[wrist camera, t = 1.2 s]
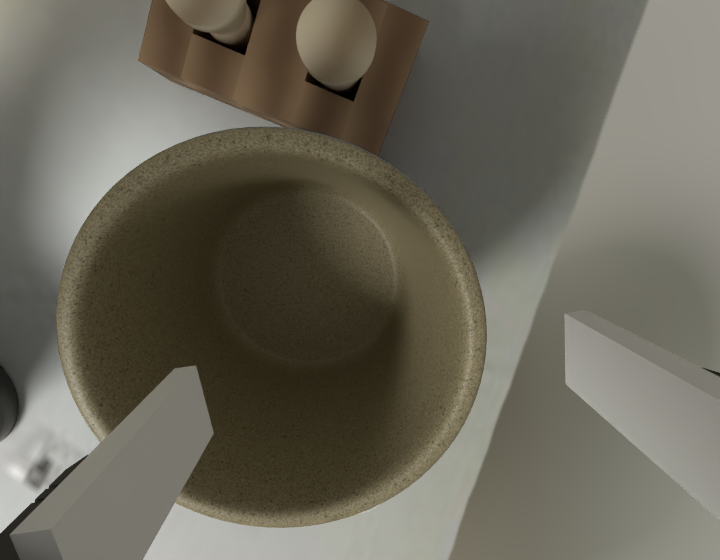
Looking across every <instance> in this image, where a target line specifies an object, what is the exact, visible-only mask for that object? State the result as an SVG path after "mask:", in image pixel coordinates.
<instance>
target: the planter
mask: <svg viewBox="0 0 720 560" xmlns="http://www.w3.org/2000/svg"><path fill="white" fill-rule="evenodd" d="M56 323H57V339H58V347H59V354H60V358H61V363H62V367H63V371H64V374H65V377H66V380H67V384H68V386H69V389H70V391H71V394H72V396H73V398H74V400H75V403H76V405H77V407H78V409H79V411H80V413H81V414H82V416H83V418H84V419H85V421H86V423H87V424H88V426H89V427H90V429H91V430H92V432H93V433H94V435H95V436H96V437H97V439H98V440H99V441H100V442H102V441H103V440H104V439H105V438H106V437H107V436H108V435H109V434H110V433H111V432H112V431H113V430H114V429H115V428H116V427H117V426H118V425H119V424H120V423H121V422H122V421H123V420H124V419H125V418H126V417H127V416H128V415H129V414H130V413H131V412H132V411H133V410H134V409H135V408H136V407H137V406H138V405H139V404H140V403H141V402H142V401H143V400H144V399H145V398H146V397H147V396H148V395H149V394H150V393H151V392H152V391H153V390H154V389H155V388H156V387H157V386H158V385H159V384H160V383H161V382H162V381H163V380H164V379H165V378H166V377H167V376H168V375H169V374H170V373H171V372H172V371H173V370H174V369H175V368H181V367H189V366H196V367H197V371H198V375H199V379H200V382H201V386H202V390H203V394H204V398H205V402H206V405H207V409H208V413H209V417H210V421H211V425H212V428H213V432H214V434H213V436H212V437H211V439H210V441H209V443H208V444H207V446H206V448H205V450H204V452H203V453H202V455H201V457H200V459H199V460H198V462H197V464H196V466H195V467H194V469H193V471H192V473H191V475H190V476H189V478H188V480H187V482H186V483H185V485H184V487H183V489H182V491H181V492H180V494H179V496H178V498H177V499H176V501H175V503H177V504H179V505H181V506H183V507H185V508H188V509H190V510H192V511H195V512H197V513H200V514H203V515H206V516H209V517H212V518H216V519H219V520H223V521H227V522H232V523H237V524H242V525H249V526H258V527H277V528H285V527H302V526H311V525H317V524H323V523H328V522H332V521H336V520H340V519H343V518H347V517H350V516H353V515H356V514H358V513H361V512H363V511H366V510H369V509H371V508H373V507H375V506H377V505H379V504H381V503H383V502H385V501H387V500H388V499H390V498H392V497H394V496H395V495H397V494H398V493H400V492H401V491H403V490H404V489H406V488H407V487H409V486H410V485H411V484H412V483H414V482H415V481H416V480H418V479H419V478H420V477H421V476H422V475H423V474H424V473H426V472H427V471H428V470H429V469H430V468H431V467H432V466H433V465H434V464H435V463H436V462H437V461H438V460H439V458H440V457H441V456H442V455H443V454H444V452H445V451H446V450H447V449H448V448H449V446H450V445H451V443H452V442H453V441H454V439H455V438H456V436H457V435H458V433H459V431H460V430H461V428H462V426H463V425H464V423H465V421H466V419H467V417H468V415H469V413H470V411H471V408H472V406H473V403H474V401H475V398H476V396H477V392H478V389H479V386H480V383H481V378H482V374H483V369H484V363H485V356H486V342H487V330H486V315H485V306H484V301H483V296H482V291H481V287H480V284H479V280H478V277H477V274H476V271H475V268H474V266H473V263H472V260H471V258H470V256H469V254H468V252H467V250H466V247H465V245H464V243H463V242H462V240H461V238H460V236H459V235H458V233H457V231H456V230H455V228H454V227H453V225H452V224H451V222H450V221H449V219H448V218H447V217H446V215H445V214H444V213H443V212H442V210H441V209H440V208H439V207H438V206H437V204H436V203H435V202H434V201H433V200H432V199H431V198H430V197H429V196H428V195H427V194H426V193H425V192H424V191H423V190H422V189H421V188H420V187H419V186H418V185H417V184H416V183H415V182H413V181H412V180H411V179H410V178H409V177H408V176H406V175H405V174H403V173H402V172H401V171H399V170H398V169H397V168H395V167H394V166H392V165H391V164H389V163H388V162H386V161H384V160H383V159H381V158H379V157H378V156H376V155H374V154H372V153H370V152H368V151H366V150H364V149H362V148H360V147H358V146H355V145H353V144H350V143H348V142H345V141H343V140H340V139H336V138H333V137H330V136H327V135H323V134H319V133H315V132H310V131H305V130H299V129H292V128H281V127H246V128H237V129H229V130H224V131H218V132H213V133H209V134H206V135H202V136H199V137H195V138H192V139H190V140H187V141H184V142H182V143H179V144H176V145H174V146H172V147H170V148H168V149H166V150H164V151H162V152H160V153H158V154H156V155H154V156H153V157H151V158H149V159H148V160H146V161H144V162H143V163H141V164H140V165H139V166H137V167H136V168H134V169H133V170H132V171H130V172H129V173H128V174H127V175H125V176H124V177H123V178H122V179H121V180H120V181H118V182H117V183H116V184H115V185H114V186H113V187H112V188H111V189H110V190H109V191H108V192H107V193H106V194H105V195H104V196H103V198H102V199H101V200H100V201H99V203H98V204H97V205H96V206H95V208H94V209H93V210H92V211H91V213H90V214H89V216H88V217H87V219H86V220H85V222H84V224H83V225H82V227H81V229H80V231H79V232H78V234H77V236H76V238H75V240H74V242H73V245H72V247H71V249H70V252H69V254H68V257H67V260H66V263H65V266H64V269H63V273H62V277H61V282H60V286H59V293H58V300H57V317H56Z"/></svg>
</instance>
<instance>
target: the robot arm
mask: <svg viewBox="0 0 720 560" xmlns="http://www.w3.org/2000/svg"><path fill="white" fill-rule="evenodd" d="M565 372H566V373H565V374H566V385H567V386H568V387H570V388H571V389H572V390H573V391H574V392H575V393H576V394H578V395H579V396H580V397H581V398H582V399H583V400H584V401H585V402H587V403H588V404H589V405H590V406H591V407H592V408H594V409H595V410H596V411H597V412H598V413H599V414H600V415H601V416H602V417H604V418H605V419H606V420H607V421H608V422H609V423H610V424H611V425H613V426H614V427H615V428H616V429H617V430H618V431H619V432H621V434H623V435H624V436H625V437H626V438H627V439H628V440H629V441H631V442H632V443H633V444H634V445H635V446H636V447H637V448H639V449H640V450H641V451H642V452H643V453H644V454H645V455H646V456H648V457H649V458H650V459H651V460H652V461H653V462H654V463H655V464H656V465H658V466H659V467H660V468H661V469H662V470H663V471H664V472H666V473H667V474H668V475H669V476H670V477H671V478H672V479H674V480H675V481H676V482H677V483H678V484H679V485H680V486H681V487H682V488H684V489H685V490H686V491H687V492H688V493H689V494H690V495H691V496H693V497H694V498H695V499H696V500H697V501H698V502H699V503H700V504H702V505H703V506H704V507H705V508H706V509H707V510H708V511H710V512H711V513H712V514H713V515H714V516H715V517H716V518H717V519H718V520H720V373H718V372H715V371H712V370H708V369H705V368H701V367H698V366H697V365H695V364H693V363H691V362H689V361H687V360H685V359H683V358H681V357H679V356H677V355H674V354H673V353H671V352H669V351H667V350H665V349H663V348H661V347H659V346H657V345H655V344H653V343H651V342H649V341H647V340H645V339H643V338H641V337H639V336H636V335H635V334H633V333H630V332H629V331H627V330H625V329H623V328H621V327H619V326H617V325H615V324H613V323H611V322H608V321H607V320H605V319H603V318H601V317H598V316H597V315H595V314H593V313H590V312H589V311H587V310H586V311H578V312H571V313H565ZM17 412H18V403H17V396H16V393H15V390H14V387H13V385H12V383H11V381H10V379H9V377H8V376H7V374H6V373H5V372H4V370H3V369H2V368H1V367H0V442H1V441H2V440H3V439H4V438H5V437H6V436H7V435H8V434H9V433H10V431H11V430H12V428H13V426H14V424H15V421H16V418H17ZM213 434H214V432H213V428H212V425H211V421H210V417H209V413H208V409H207V405H206V402H205V398H204V394H203V390H202V386H201V382H200V379H199V375H198V371H197V367H196V366H189V367H181V368H175V369H174V370H173V371H172V372H171V373H170V374H169V375H168V376H167V377H166V378H165V379H164V380H163V381H162V382H161V383H160V384H159V385H158V386H157V387H156V388H155V389H154V390H153V391H152V392H151V393H150V394H149V395H148V396H147V397H146V398H145V399H144V400H143V401H142V402H141V403H140V404H139V405H138V406H137V407H136V408H135V409H134V410H133V411H132V412H131V413H130V414H129V415H128V416H127V417H126V418H125V419H124V420H123V421H122V422H121V423H120V424H119V425H118V426H117V427H116V428H115V429H114V430H113V431H112V432H111V433H110V434H109V435H108V436H107V437H106V438H105V439H104V440H103V441H102V442H101V443H100V444H99V445H98V446H97V447H96V448H95V449H94V450H93V451H92V452H91V453H90V454H89V455H87V456H85V457H84V458H82V459H81V460H79V461H78V462H76V463H75V464H73V465H72V466H70V467H69V468H68V469H66V470H65V471H64V472H63V473H62V474H61V475H60V476H59V477H58V478H57V479H56V480H55V481H54V482H53V483H52V484H51V485H50V486H49V489H46V490H44V491H43V492H42V493H41V494H40V495H39V496H38V497H37V498H36V499H35V503H31V504H30V505H29V506H28V507H27V508H26V509H25V510H24V511H23V512H22V513H21V514H20V515H19V516H18V517H17V518H16V519H15V520H14V521H13V522H12V523H11V524H10V525H9V526H8V527H7V528H6V529H5V530H4V531H3V532H1V533H0V560H143V558H144V556H145V554H146V553H147V551H148V549H149V547H150V546H151V544H152V542H153V540H154V538H155V537H156V535H157V533H158V531H159V530H160V528H161V526H162V524H163V522H164V521H165V519H166V517H167V515H168V514H169V512H170V510H171V508H172V506H173V505H174V503H175V501H176V499H177V498H178V496H179V494H180V492H181V491H182V489H183V487H184V485H185V483H186V482H187V480H188V478H189V476H190V475H191V473H192V471H193V469H194V467H195V466H196V464H197V462H198V460H199V459H200V457H201V455H202V453H203V452H204V450H205V448H206V446H207V444H208V443H209V441H210V439H211V437H212V436H213Z"/></svg>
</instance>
